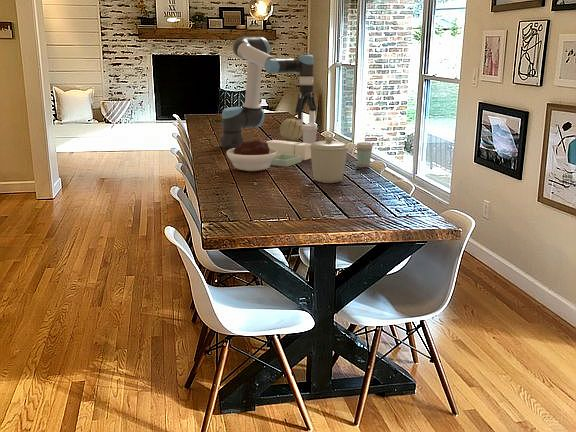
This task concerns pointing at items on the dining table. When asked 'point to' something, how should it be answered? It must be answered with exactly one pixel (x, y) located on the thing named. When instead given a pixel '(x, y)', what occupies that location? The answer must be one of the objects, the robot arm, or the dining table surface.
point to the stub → (303, 150)
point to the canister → (328, 160)
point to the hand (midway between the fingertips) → (306, 124)
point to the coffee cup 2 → (364, 154)
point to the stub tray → (286, 160)
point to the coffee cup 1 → (309, 133)
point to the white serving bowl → (252, 156)
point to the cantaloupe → (290, 130)
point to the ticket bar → (283, 146)
